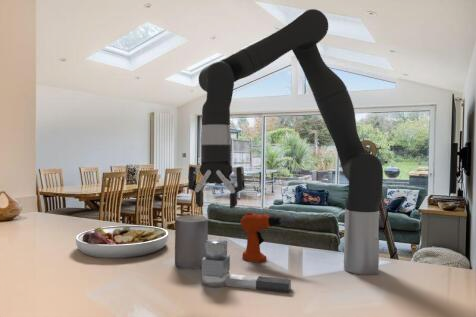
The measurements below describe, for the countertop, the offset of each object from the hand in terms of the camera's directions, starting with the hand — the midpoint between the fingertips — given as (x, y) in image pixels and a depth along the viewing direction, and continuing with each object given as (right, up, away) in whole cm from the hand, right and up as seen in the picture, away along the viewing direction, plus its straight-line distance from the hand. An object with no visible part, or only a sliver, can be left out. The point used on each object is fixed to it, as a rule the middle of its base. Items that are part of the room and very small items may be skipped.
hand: (216, 207), depth 99 cm
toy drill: (+14, -19, +20) cm, 31 cm away
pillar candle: (-8, -19, +17) cm, 27 cm away
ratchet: (+7, -19, -1) cm, 21 cm away
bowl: (-34, -19, +34) cm, 51 cm away
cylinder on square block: (0, -17, +1) cm, 17 cm away
